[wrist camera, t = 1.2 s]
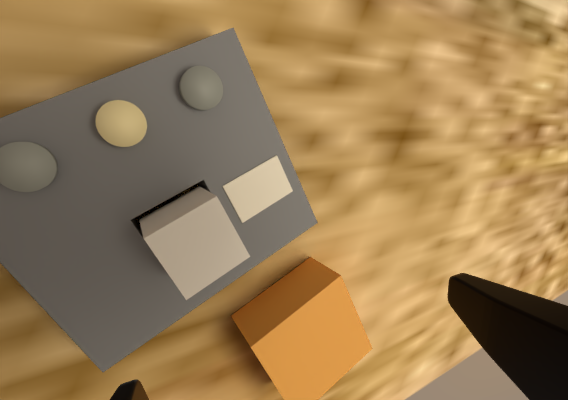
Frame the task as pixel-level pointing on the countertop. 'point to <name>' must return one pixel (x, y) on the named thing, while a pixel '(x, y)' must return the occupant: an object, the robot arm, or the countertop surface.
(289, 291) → the cap
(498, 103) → the countertop surface
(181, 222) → the breaker button
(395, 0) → the countertop surface
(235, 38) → the panel
